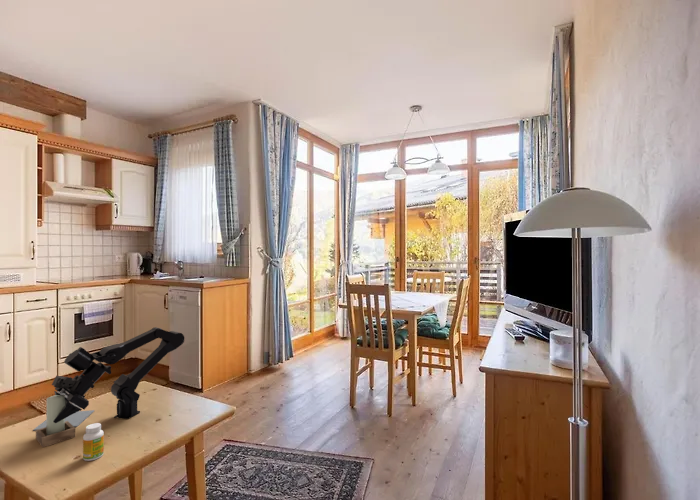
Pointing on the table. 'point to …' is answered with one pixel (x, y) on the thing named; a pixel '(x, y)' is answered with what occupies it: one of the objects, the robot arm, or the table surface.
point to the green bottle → (54, 414)
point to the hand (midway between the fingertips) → (50, 418)
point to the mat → (71, 419)
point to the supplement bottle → (93, 442)
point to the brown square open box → (55, 435)
